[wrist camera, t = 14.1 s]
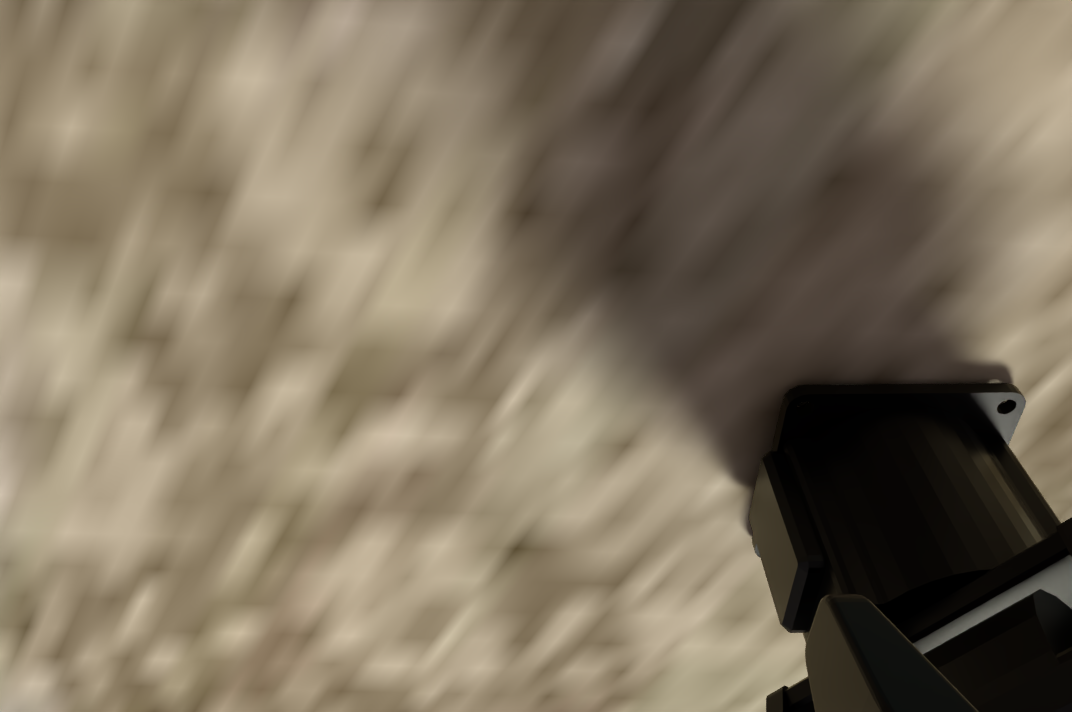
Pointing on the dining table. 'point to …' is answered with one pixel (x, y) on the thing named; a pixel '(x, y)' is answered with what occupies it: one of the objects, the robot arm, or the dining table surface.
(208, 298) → the dining table surface
